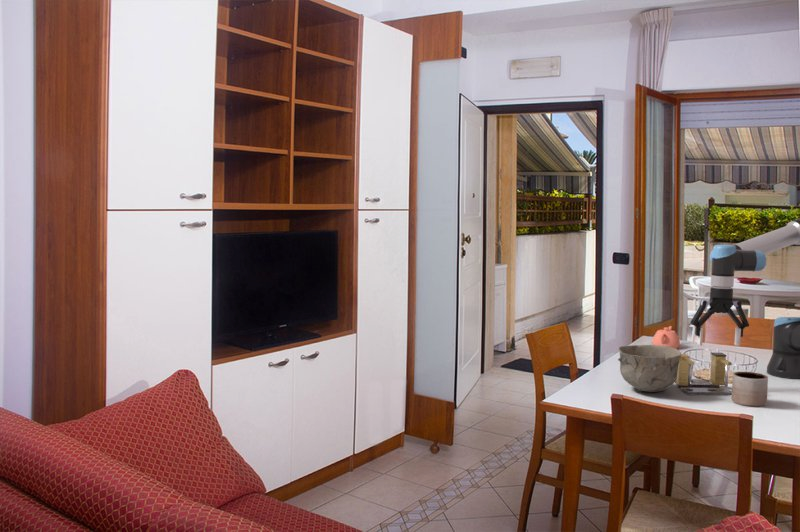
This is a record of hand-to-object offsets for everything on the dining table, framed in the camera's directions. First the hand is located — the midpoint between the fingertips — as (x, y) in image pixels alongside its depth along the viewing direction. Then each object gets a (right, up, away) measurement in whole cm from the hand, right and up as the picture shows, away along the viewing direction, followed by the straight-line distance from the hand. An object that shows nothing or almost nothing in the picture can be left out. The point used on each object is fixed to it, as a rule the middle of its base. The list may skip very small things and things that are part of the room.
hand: (718, 345), depth 261 cm
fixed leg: (-13, -15, -2) cm, 20 cm away
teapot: (+9, -9, +75) cm, 76 cm away
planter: (+2, -18, -18) cm, 26 cm away
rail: (-7, -16, +2) cm, 17 cm away
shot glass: (-9, -15, +11) cm, 20 cm away
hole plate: (-7, -16, -6) cm, 18 cm away
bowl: (-27, -16, -4) cm, 32 cm away
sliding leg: (0, -15, -2) cm, 15 cm away
